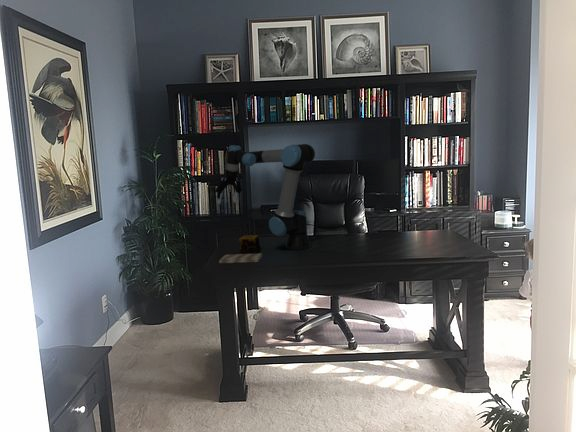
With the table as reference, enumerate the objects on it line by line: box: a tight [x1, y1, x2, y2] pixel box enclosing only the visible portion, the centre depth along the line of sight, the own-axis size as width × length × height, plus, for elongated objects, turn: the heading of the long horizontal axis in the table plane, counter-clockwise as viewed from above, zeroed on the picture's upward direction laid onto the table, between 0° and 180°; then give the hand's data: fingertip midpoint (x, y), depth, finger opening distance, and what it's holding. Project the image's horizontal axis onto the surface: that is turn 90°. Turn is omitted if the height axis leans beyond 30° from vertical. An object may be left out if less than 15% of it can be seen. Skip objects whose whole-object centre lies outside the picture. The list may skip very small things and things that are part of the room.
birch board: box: [218, 252, 263, 264], centre depth 283 cm, size 22×14×2 cm, turn 82°
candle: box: [238, 234, 261, 254], centre depth 298 cm, size 10×10×10 cm
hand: (226, 202), depth 316 cm, fingers open, 13 cm apart
